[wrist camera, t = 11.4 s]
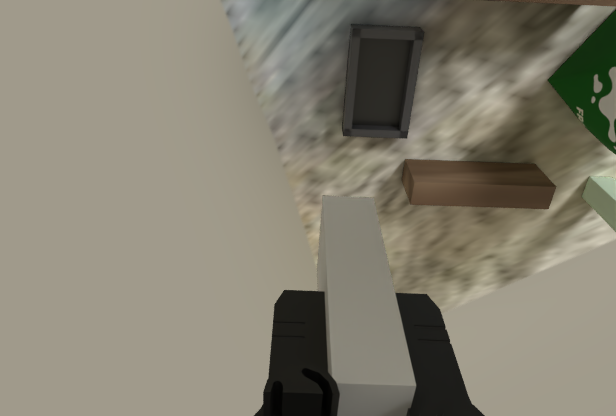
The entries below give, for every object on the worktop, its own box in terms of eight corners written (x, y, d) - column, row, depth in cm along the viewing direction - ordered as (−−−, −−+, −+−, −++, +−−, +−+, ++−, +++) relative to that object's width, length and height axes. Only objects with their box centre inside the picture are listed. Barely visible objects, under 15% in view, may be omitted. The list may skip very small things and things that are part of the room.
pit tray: (350, 24, 35) (352, 28, 33) (419, 27, 35) (424, 31, 33) (341, 128, 39) (343, 136, 38) (403, 130, 39) (406, 138, 38)
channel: (438, -43, 32) (454, -38, 29) (598, -35, 33) (633, -29, 29) (401, 180, 41) (410, 204, 38) (528, 184, 42) (548, 209, 38)
